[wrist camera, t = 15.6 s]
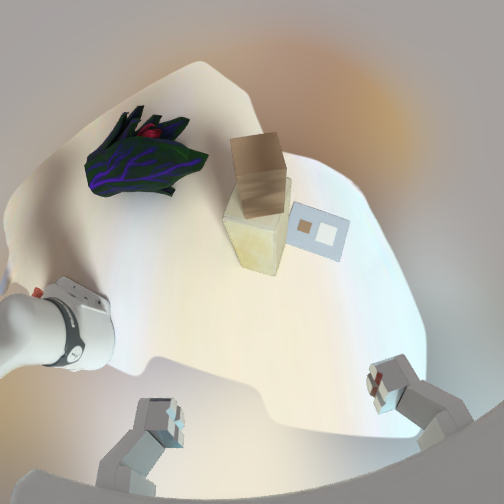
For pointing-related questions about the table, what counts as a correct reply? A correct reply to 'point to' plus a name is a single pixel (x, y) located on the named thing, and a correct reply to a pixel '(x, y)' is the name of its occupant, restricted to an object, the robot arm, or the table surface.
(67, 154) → the table surface
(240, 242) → the tall cream box
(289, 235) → the page
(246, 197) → the walnut block
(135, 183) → the decorative plant
